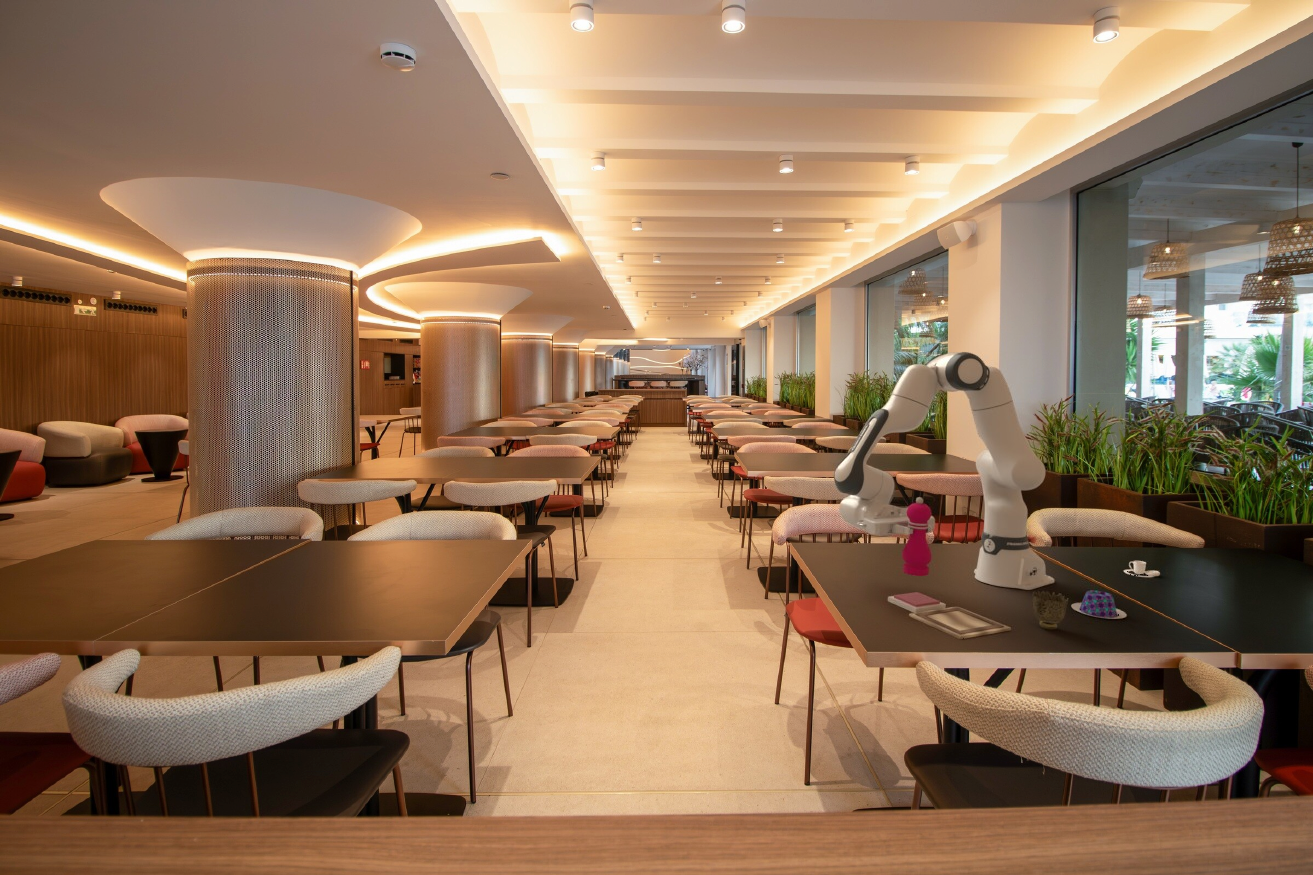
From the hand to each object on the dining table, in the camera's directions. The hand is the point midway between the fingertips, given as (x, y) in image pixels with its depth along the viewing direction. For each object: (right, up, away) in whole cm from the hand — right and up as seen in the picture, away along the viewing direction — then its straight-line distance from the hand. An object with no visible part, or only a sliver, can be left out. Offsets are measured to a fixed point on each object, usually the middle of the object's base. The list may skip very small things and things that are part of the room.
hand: (920, 530), depth 178 cm
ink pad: (0, -20, +2) cm, 20 cm away
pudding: (+45, -21, -1) cm, 50 cm away
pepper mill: (-1, -11, +2) cm, 12 cm away
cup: (+25, -22, -13) cm, 36 cm away
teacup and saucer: (+81, -19, +32) cm, 89 cm away
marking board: (+5, -21, -11) cm, 24 cm away
